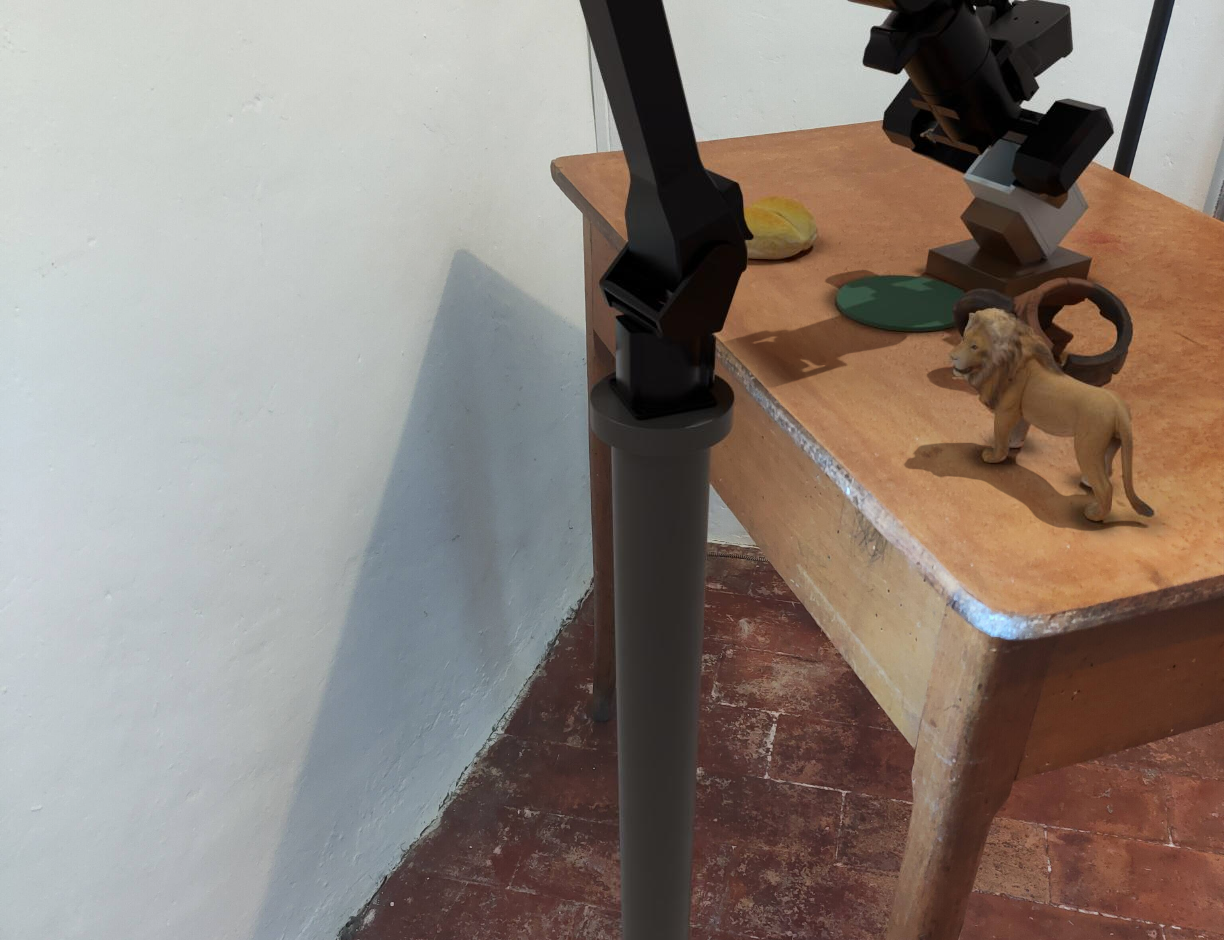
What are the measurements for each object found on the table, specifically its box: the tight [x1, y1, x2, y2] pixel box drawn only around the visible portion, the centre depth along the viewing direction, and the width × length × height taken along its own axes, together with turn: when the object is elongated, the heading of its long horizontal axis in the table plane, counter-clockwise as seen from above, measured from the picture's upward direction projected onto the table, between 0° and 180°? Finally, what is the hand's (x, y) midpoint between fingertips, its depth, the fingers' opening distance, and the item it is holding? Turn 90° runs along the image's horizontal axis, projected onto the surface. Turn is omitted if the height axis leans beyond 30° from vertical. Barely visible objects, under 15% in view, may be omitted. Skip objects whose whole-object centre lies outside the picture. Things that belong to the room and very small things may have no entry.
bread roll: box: [744, 195, 819, 260], centre depth 98 cm, size 8×9×4 cm
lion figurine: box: [948, 308, 1155, 522], centre depth 64 cm, size 15×5×9 cm, turn 39°
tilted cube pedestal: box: [924, 197, 1093, 298], centre depth 90 cm, size 10×9×7 cm
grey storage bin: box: [962, 139, 1090, 258], centre depth 88 cm, size 10×7×10 cm
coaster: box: [835, 274, 966, 333], centre depth 88 cm, size 11×11×1 cm
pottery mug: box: [952, 278, 1134, 388], centre depth 75 cm, size 12×10×8 cm
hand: (1026, 191), depth 88 cm, fingers closed on grey storage bin, 7 cm apart
